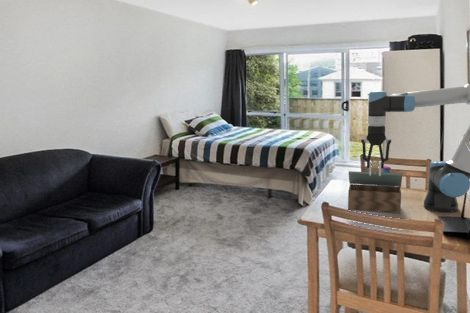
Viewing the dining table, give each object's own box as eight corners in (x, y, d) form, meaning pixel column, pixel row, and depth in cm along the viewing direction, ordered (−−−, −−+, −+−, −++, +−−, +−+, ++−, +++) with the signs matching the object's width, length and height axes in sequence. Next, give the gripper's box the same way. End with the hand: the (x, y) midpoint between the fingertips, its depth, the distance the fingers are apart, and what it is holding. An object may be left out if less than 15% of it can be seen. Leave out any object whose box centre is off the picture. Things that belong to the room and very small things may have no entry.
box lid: (400, 188, 200) (400, 182, 202) (404, 167, 181) (404, 160, 182) (349, 186, 208) (349, 179, 210) (347, 165, 189) (347, 158, 190)
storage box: (399, 205, 202) (399, 186, 201) (400, 213, 191) (401, 193, 189) (349, 202, 210) (350, 184, 208) (348, 209, 199) (348, 190, 197)
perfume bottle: (397, 193, 224) (399, 167, 221) (387, 196, 218) (388, 169, 216) (383, 190, 231) (384, 164, 228) (373, 193, 226) (374, 166, 223)
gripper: (357, 126, 183) (355, 176, 188) (396, 126, 178) (394, 177, 182) (357, 124, 190) (356, 172, 195) (395, 124, 185) (393, 174, 189)
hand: (374, 174), depth 188 cm, fingers closed on box lid, 4 cm apart
